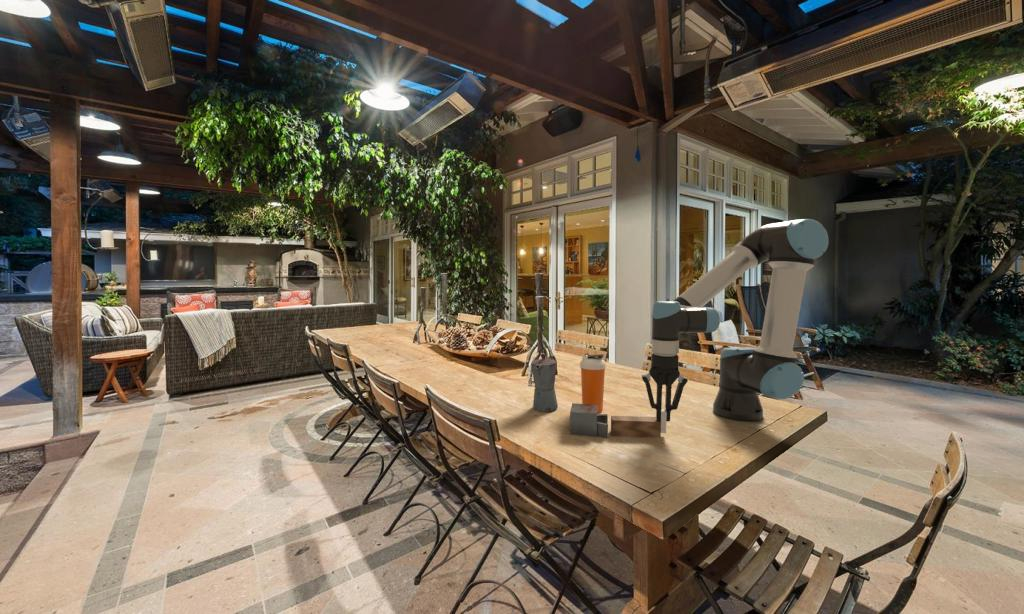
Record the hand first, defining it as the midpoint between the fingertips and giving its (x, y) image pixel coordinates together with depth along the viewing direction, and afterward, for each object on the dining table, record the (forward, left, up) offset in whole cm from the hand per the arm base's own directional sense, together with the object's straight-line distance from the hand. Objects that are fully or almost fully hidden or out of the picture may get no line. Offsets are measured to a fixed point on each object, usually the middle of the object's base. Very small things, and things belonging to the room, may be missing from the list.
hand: (662, 431), depth 122 cm
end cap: (+22, 0, -2) cm, 22 cm away
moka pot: (+38, -19, -2) cm, 43 cm away
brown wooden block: (+8, 0, -2) cm, 8 cm away
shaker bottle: (+21, -20, -2) cm, 29 cm away
